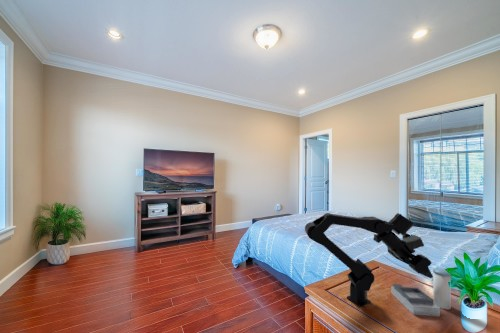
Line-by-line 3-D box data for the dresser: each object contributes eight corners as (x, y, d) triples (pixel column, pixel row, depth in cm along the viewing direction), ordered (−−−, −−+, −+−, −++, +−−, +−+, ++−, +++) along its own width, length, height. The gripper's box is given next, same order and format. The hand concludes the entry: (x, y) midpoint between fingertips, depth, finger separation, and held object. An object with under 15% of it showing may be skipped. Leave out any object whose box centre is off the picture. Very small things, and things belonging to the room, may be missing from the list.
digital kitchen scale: (413, 314, 77) (413, 302, 78) (391, 292, 91) (391, 283, 91) (439, 316, 77) (439, 304, 77) (413, 294, 91) (413, 284, 91)
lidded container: (440, 309, 81) (439, 273, 81) (429, 301, 86) (429, 267, 86) (454, 310, 80) (454, 274, 81) (443, 301, 85) (443, 268, 86)
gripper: (425, 235, 76) (459, 268, 74) (394, 223, 94) (421, 249, 93) (402, 256, 76) (435, 289, 75) (376, 240, 95) (402, 266, 93)
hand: (423, 271), depth 84 cm, fingers open, 9 cm apart
